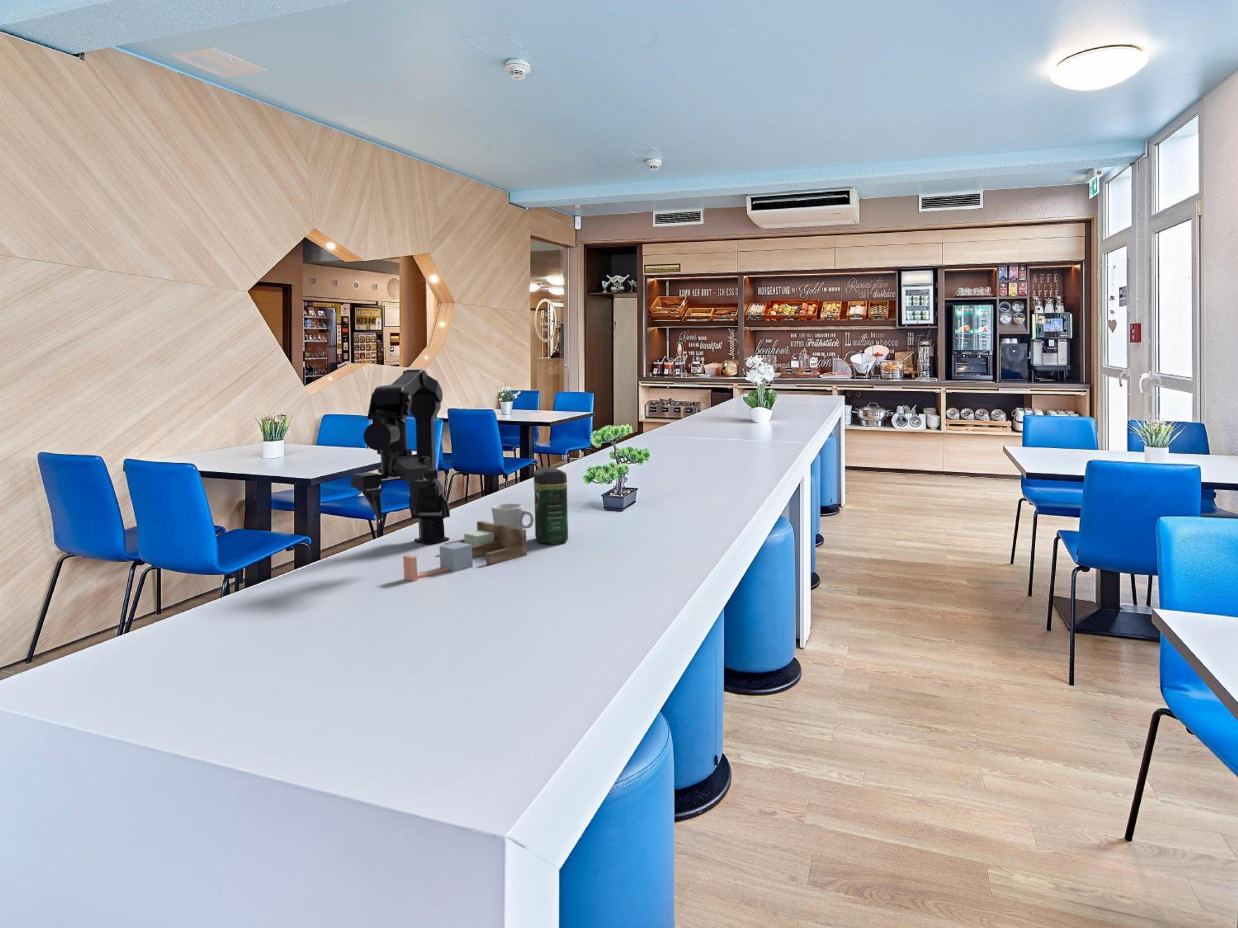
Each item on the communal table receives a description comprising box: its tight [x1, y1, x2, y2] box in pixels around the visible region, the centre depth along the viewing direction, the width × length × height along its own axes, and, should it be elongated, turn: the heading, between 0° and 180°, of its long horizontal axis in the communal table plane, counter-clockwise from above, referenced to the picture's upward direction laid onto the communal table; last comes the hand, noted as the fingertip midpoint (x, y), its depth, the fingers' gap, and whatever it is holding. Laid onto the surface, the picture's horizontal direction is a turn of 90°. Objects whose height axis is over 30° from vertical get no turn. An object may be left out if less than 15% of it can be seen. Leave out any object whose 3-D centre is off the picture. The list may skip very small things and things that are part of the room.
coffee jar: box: [533, 466, 569, 545], centre depth 200 cm, size 10×8×19 cm
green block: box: [463, 530, 494, 546], centre depth 191 cm, size 5×5×4 cm
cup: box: [491, 502, 535, 530], centre depth 205 cm, size 11×8×8 cm
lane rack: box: [443, 520, 528, 566], centre depth 188 cm, size 16×11×6 cm
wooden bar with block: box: [402, 542, 474, 582], centre depth 173 cm, size 5×15×5 cm, turn 140°
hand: (397, 515), depth 175 cm, fingers open, 9 cm apart
